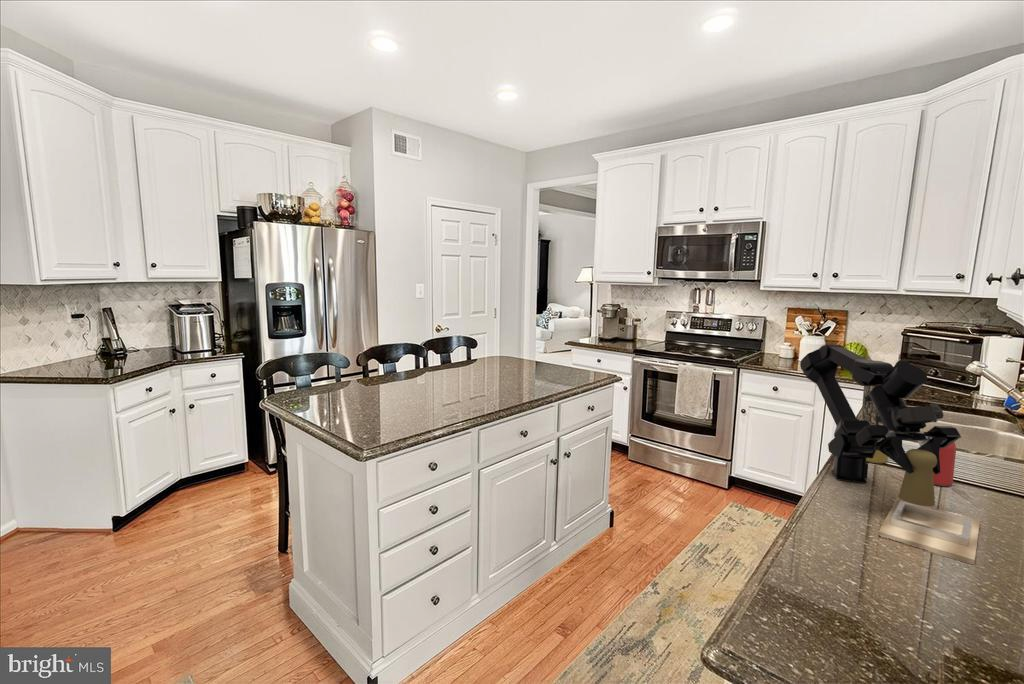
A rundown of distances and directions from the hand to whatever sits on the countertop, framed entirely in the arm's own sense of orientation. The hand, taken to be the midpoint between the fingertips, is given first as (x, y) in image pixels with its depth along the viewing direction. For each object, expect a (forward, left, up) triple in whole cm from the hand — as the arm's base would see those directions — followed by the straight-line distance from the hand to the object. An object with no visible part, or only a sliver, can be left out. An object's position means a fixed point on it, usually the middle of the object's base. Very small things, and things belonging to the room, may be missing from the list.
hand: (924, 473), depth 100 cm
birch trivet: (+1, -3, -11) cm, 11 cm away
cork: (-1, +1, -7) cm, 7 cm away
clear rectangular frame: (+1, -3, -11) cm, 11 cm away
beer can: (+13, +28, -11) cm, 33 cm away
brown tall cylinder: (+3, +41, -11) cm, 43 cm away
